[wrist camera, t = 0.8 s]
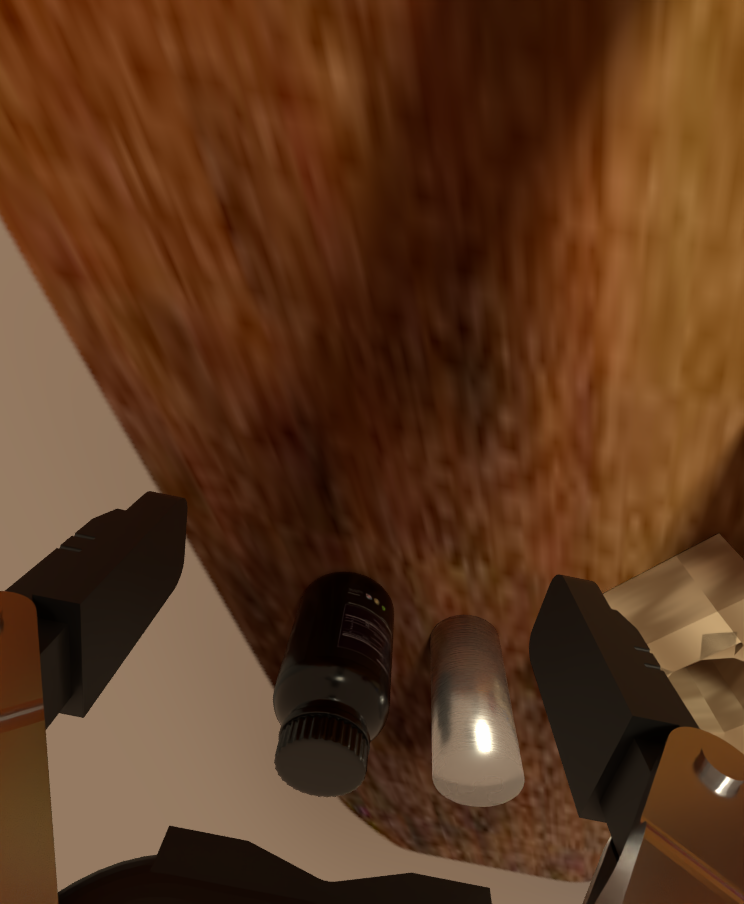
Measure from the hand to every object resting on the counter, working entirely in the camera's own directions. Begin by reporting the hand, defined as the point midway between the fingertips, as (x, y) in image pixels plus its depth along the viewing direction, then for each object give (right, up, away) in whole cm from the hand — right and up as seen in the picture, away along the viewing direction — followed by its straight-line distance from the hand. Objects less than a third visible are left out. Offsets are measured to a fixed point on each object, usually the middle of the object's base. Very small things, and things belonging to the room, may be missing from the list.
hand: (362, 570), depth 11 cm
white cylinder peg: (+7, -11, +26) cm, 29 cm away
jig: (+21, -10, +24) cm, 33 cm away
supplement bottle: (-1, -8, +26) cm, 27 cm away
